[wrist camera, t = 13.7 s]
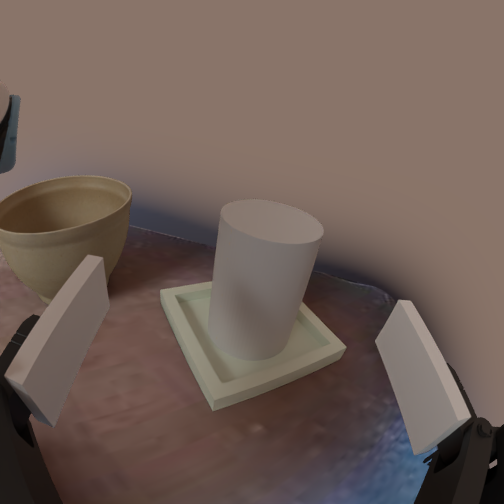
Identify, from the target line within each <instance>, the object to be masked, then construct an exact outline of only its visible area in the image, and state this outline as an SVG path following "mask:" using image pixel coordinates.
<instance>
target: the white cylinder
mask: <svg viewBox="0 0 504 504" xmlns="http://www.w3.org/2000/svg"><path fill="white" fill-rule="evenodd" d="M323 233H324V229H323V226H322V225H321V223H320V222H319V221H318V220H317V219H316V218H314V217H313V216H311V215H310V214H308V213H306V212H304V211H302V210H300V209H298V208H295V207H293V206H290V205H287V204H283V203H279V202H275V201H269V200H260V199H242V200H236V201H232V202H229V203H227V204H226V205H224V206H223V207H222V209H221V214H220V223H219V230H218V237H217V246H216V254H215V262H214V271H213V280H212V289H211V298H210V308H209V318H208V333H209V336H210V338H211V340H212V341H213V343H214V344H215V345H216V346H217V347H218V348H219V349H220V350H222V351H223V352H225V353H226V354H228V355H230V356H232V357H235V358H238V359H242V360H249V361H259V360H265V359H269V358H272V357H274V356H276V355H278V354H279V353H280V352H281V351H282V350H283V349H284V348H285V346H286V345H287V342H288V339H289V337H290V334H291V331H292V328H293V325H294V323H295V320H296V317H297V314H298V311H299V308H300V305H301V302H302V299H303V296H304V294H305V291H306V287H307V284H308V281H309V278H310V275H311V272H312V269H313V266H314V263H315V259H316V256H317V253H318V250H319V247H320V243H321V240H322V237H323Z"/></svg>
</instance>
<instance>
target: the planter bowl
mask: <svg viewBox="0 0 504 504" xmlns="http://www.w3.org/2000/svg"><path fill="white" fill-rule="evenodd" d="M131 200H132V191H131V189H130V187H129V186H128V185H126V184H125V183H123V182H121V181H118V180H116V179H112V178H108V177H103V176H91V175H87V176H86V175H84V176H83V175H81V176H66V177H59V178H54V179H49V180H45V181H41V182H38V183H35V184H32V185H29V186H27V187H24V188H22V189H20V190H18V191H16V192H14V193H12V194H10V195H9V196H7V197H6V198H4V199H3V200H2V201H0V248H1V251H2V253H3V255H4V257H5V259H6V261H7V263H8V265H9V266H10V268H11V269H12V270H13V272H14V273H15V274H16V276H17V277H18V278H19V279H20V280H21V281H22V282H23V283H24V284H25V285H26V286H28V287H29V288H30V289H32V290H33V291H35V292H36V293H37V294H38V295H39V297H40V298H41V300H42V301H44V302H45V303H47V304H48V305H49V304H50V303H51V301H52V300H53V299H54V297H55V296H56V295H57V293H58V292H59V291H60V289H61V288H62V287H63V285H64V284H65V283H66V281H67V280H68V279H69V277H70V276H71V275H72V274H73V272H74V271H75V270H76V269H77V267H78V266H79V265H80V264H81V262H82V261H83V260H84V259H85V257H86V256H87V255H93V256H99V257H103V261H104V269H105V277H106V285H107V284H108V281H109V275H110V274H111V273H112V271H113V269H114V268H115V266H116V264H117V262H118V260H119V258H120V255H121V253H122V250H123V247H124V244H125V241H126V237H127V232H128V226H129V215H130V213H129V212H130V206H131Z"/></svg>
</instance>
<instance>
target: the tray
mask: <svg viewBox="0 0 504 504" xmlns="http://www.w3.org/2000/svg"><path fill="white" fill-rule="evenodd" d="M211 289H212V281H210V282H204V283H198V284H193V285H187V286H181V287H175V288H168V289H162V290H160V296H161V305H162V307H163V310H164V312H165V314H166V317H167V319H168V321H169V323H170V326H171V328H172V330H173V332H174V335H175V337H176V339H177V341H178V343H179V346H180V348H181V350H182V352H183V354H184V356H185V358H186V360H187V362H188V364H189V366H190V368H191V370H192V372H193V374H194V376H195V378H196V380H197V382H198V384H199V386H200V388H201V390H202V392H203V394H204V396H205V398H206V400H207V401H208V403H209V405H210V407H211V409H212V411H215V410H218V409H221V408H224V407H227V406H230V405H233V404H236V403H239V402H241V401H244V400H247V399H250V398H252V397H255V396H258V395H260V394H263V393H265V392H268V391H270V390H273V389H275V388H278V387H280V386H283V385H285V384H287V383H290V382H292V381H294V380H297V379H299V378H301V377H303V376H306V375H308V374H310V373H312V372H314V371H316V370H319V369H321V368H323V367H325V366H327V365H329V364H331V363H333V362H335V361H337V360H339V359H341V357H342V355H343V353H344V351H345V350H346V348H347V347H346V346H345V345H344V344H343V343H342V342H341V341H340V340H339V339H338V338H337V337H336V336H335V335H334V334H333V333H332V332H331V331H330V330H329V329H328V328H327V327H326V326H325V324H324V323H323V322H322V321H321V320H320V319H319V318H318V317H317V316H316V315H315V314H314V313H313V312H312V311H311V310H310V309H309V308H308V307H307V306H306V305H305V304H304V303H303V302H301V305H300V308H299V311H298V314H297V317H296V320H295V323H294V325H293V328H292V331H291V334H290V337H289V339H288V342H287V345H286V346H285V348H284V349H283V350H282V351H281V352H280V353H279V354H278V355H276V356H274V357H272V358H269V359H265V360H259V361H249V360H242V359H238V358H235V357H232V356H230V355H228V354H226V353H225V352H223V351H222V350H220V349H219V348H218V347H217V346H216V345H215V344H214V343H213V341H212V340H211V338H210V336H209V333H208V318H209V308H210V298H211Z"/></svg>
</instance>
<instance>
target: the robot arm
mask: <svg viewBox="0 0 504 504" xmlns="http://www.w3.org/2000/svg"><path fill="white" fill-rule="evenodd" d="M20 100H21V99H20V97H19V96H16V95H15V96H14V95H10V96H9V91H8V89H7V86H6V85H5V84H4V83H3V82H2V81H0V174H1V173H5V172H8V171H10V170H11V169H12V168H13V167H14V165H15V161H16V143H17V128H18V117H19V108H20ZM109 308H110V304H109V298H108V292H107V285H106V277H105V269H104V261H103V257H99V256H93V255H87V256H86V257H85V259H84V260H83V261H82V262H81V264H80V265H79V266H78V267H77V269H76V270H75V271H74V272H73V274H72V275H71V276H70V277H69V279H68V280H67V281H66V283H65V284H64V285H63V287H62V288H61V289H60V291H59V292H58V293H57V295H56V296H55V297H54V299H53V300H52V301H51V303H50V304H49V306H48V307H47V308H46V310H45V311H44V313H43V314H42V316H41V317H40V316H37V315H34V314H33V315H32V316H30V317H29V318H28V319H26V320H25V321H24V322H23V323H22V324H21V326H20V327H19V328H18V330H17V331H16V334H14V336H13V337H12V339H11V342H9V343H8V345H7V347H6V348H5V350H4V351H3V353H2V355H1V356H0V504H63V503H62V501H61V499H60V497H59V495H58V493H57V491H56V488H55V486H54V484H53V482H52V480H51V477H50V475H49V473H48V470H47V468H46V465H45V463H44V460H43V458H42V455H41V452H40V449H39V447H38V444H37V441H36V438H35V435H34V432H33V428H32V425H31V423H30V421H29V417H30V414H31V413H32V414H33V416H34V417H35V418H36V419H37V420H38V421H40V422H42V423H45V424H47V425H49V426H51V427H54V428H55V425H56V423H57V420H58V417H59V415H60V412H61V410H62V407H63V405H64V402H65V400H66V398H67V395H68V393H69V390H70V388H71V386H72V384H73V381H74V379H75V377H76V375H77V372H78V370H79V368H80V366H81V364H82V361H83V359H84V357H85V355H86V353H87V351H88V349H89V347H90V345H91V343H92V341H93V339H94V337H95V335H96V333H97V331H98V329H99V327H100V325H101V323H102V321H103V319H104V317H105V315H106V313H107V311H108V310H109ZM375 342H376V345H377V347H378V350H379V352H380V355H381V358H382V360H383V363H384V366H385V368H386V371H387V374H388V376H389V379H390V382H391V385H392V388H393V390H394V393H395V396H396V399H397V402H398V405H399V408H400V411H401V414H402V417H403V420H404V423H405V426H406V430H407V433H408V436H409V439H410V443H411V446H412V450H413V453H414V455H418V454H421V453H425V452H428V451H429V450H431V449H432V448H434V447H435V446H436V445H437V446H438V450H437V451H436V452H434V453H433V454H431V455H430V456H428V457H427V458H426V459H425V460H424V461H423V463H426V462H427V461H429V460H430V459H432V461H431V462H429V463H428V464H427V465H429V469H428V471H427V474H426V476H425V479H424V481H423V484H422V486H421V488H420V491H419V493H418V495H417V497H416V500H415V502H414V504H504V424H503V425H502V426H501V427H492V426H491V424H490V423H489V421H487V420H486V419H485V418H481V417H480V418H477V416H476V414H475V412H474V409H473V407H472V405H471V403H470V401H469V398H468V396H467V394H466V392H465V390H463V386H462V384H461V383H460V380H459V378H458V376H457V374H456V372H455V370H454V369H453V368H452V367H451V366H450V365H449V364H448V363H446V362H445V360H444V358H443V357H442V354H441V353H440V351H439V349H438V347H437V345H436V344H435V342H434V340H433V338H432V336H431V334H430V332H429V331H428V329H427V327H426V325H425V324H424V322H423V320H422V319H421V317H420V315H419V313H418V312H417V310H416V309H415V307H414V305H413V304H412V302H411V301H406V300H398V302H397V304H396V306H395V308H394V309H393V311H392V313H391V315H390V317H389V318H388V320H387V322H386V324H385V325H384V327H383V329H382V330H381V332H380V334H379V335H378V337H377V339H376V340H375ZM496 459H497V465H496V466H494V467H493V468H491V469H490V468H489V464H490V463H492V462H493V461H494V460H496Z"/></svg>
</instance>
